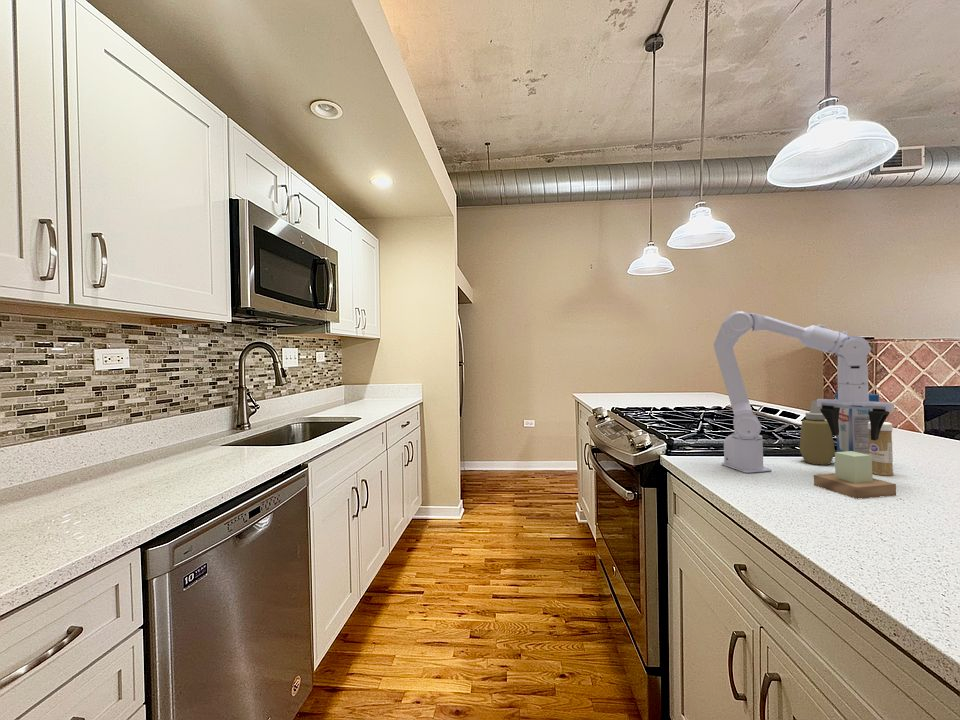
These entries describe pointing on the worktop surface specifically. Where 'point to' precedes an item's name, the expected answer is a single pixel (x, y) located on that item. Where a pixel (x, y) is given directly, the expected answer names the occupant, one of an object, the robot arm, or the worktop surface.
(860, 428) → the milk carton
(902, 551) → the worktop surface
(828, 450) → the squeeze bottle
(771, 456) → the worktop surface
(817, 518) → the worktop surface
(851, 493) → the walnut block
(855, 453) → the sage block
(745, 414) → the robot arm
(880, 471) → the sprinkles bottle
